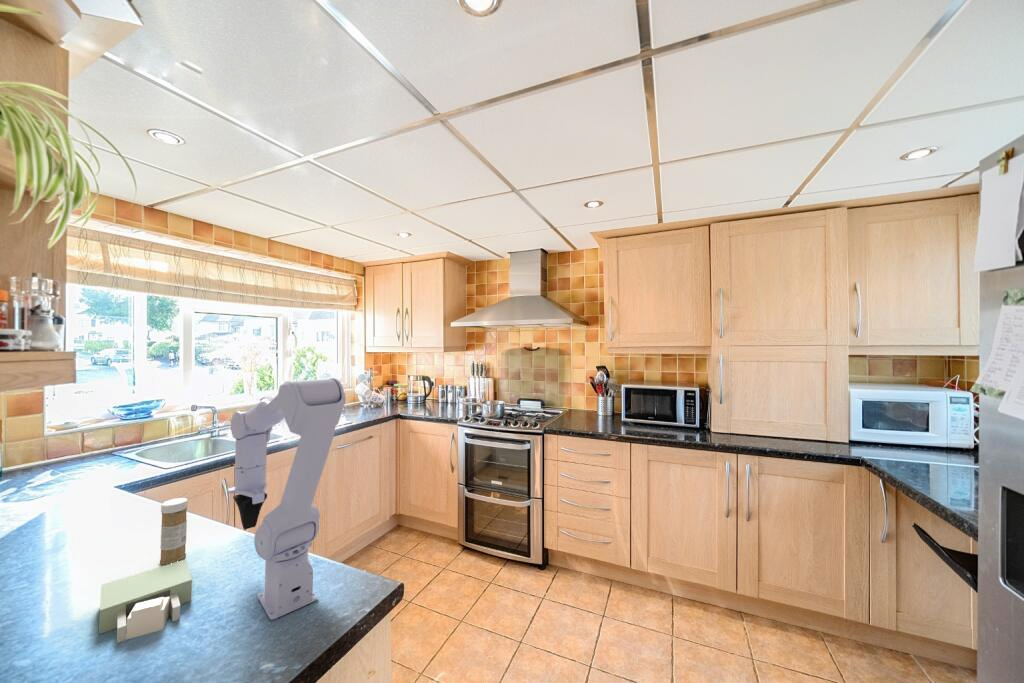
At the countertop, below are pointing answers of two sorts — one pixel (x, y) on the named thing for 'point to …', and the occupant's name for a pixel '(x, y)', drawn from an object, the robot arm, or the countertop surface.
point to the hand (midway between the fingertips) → (249, 527)
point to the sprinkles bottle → (173, 530)
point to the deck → (143, 594)
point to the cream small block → (147, 617)
